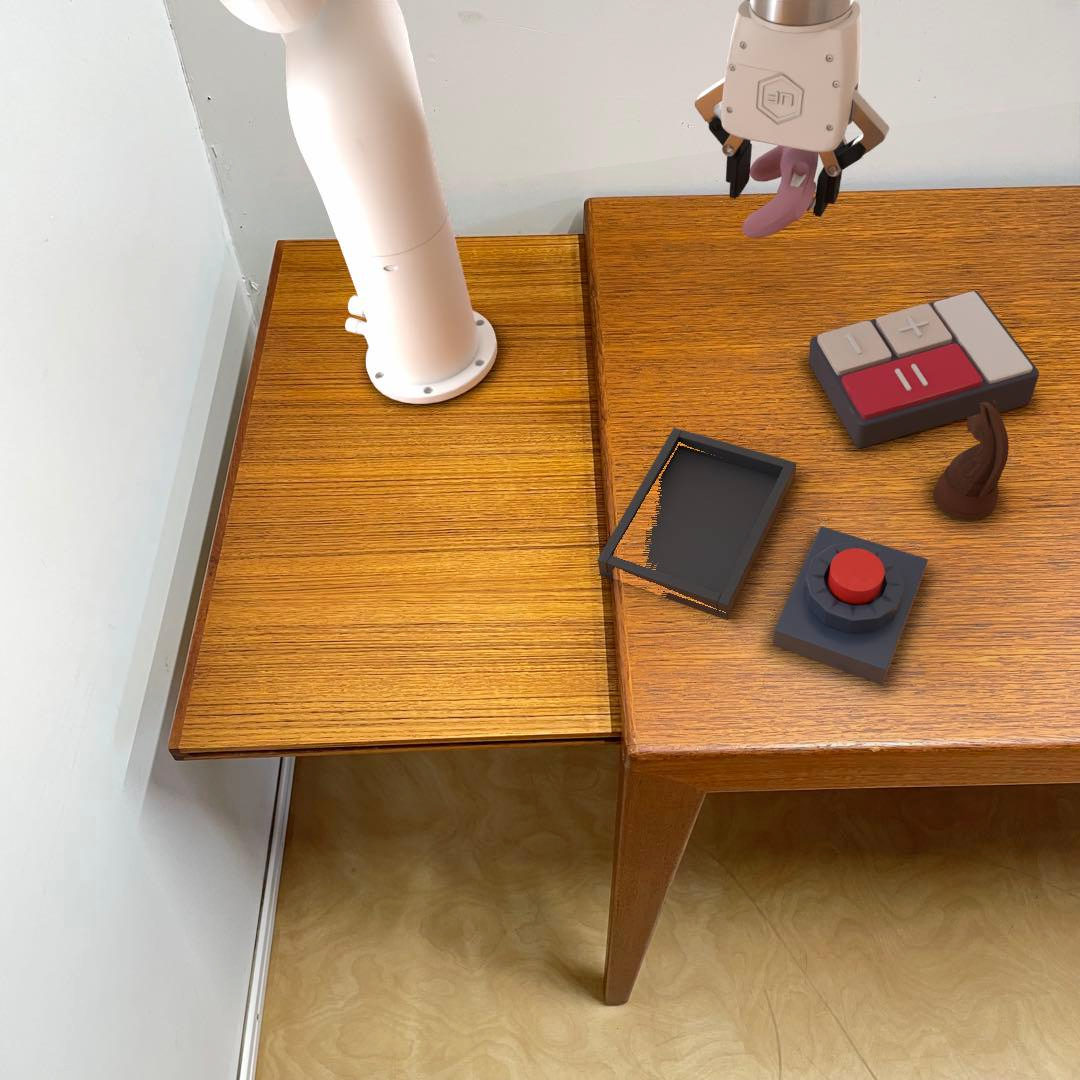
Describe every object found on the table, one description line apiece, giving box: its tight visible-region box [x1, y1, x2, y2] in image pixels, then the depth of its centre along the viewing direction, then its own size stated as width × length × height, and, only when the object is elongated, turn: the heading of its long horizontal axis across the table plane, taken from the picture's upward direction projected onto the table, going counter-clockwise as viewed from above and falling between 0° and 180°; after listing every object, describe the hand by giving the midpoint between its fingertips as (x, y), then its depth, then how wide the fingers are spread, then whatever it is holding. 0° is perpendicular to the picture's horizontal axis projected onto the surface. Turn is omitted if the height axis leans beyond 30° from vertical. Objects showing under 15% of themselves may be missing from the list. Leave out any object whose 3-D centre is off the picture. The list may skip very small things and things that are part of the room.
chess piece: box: [932, 400, 1010, 522], centre depth 73 cm, size 5×5×10 cm
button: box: [828, 549, 885, 605], centre depth 69 cm, size 4×4×2 cm
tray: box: [597, 427, 797, 621], centre depth 78 cm, size 11×15×2 cm
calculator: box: [808, 290, 1040, 449], centre depth 83 cm, size 11×4×15 cm
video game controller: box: [741, 145, 820, 239], centre depth 86 cm, size 10×5×7 cm, turn 168°
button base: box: [772, 525, 929, 686], centre depth 71 cm, size 8×10×4 cm
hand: (780, 197), depth 87 cm, fingers closed on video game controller, 7 cm apart
